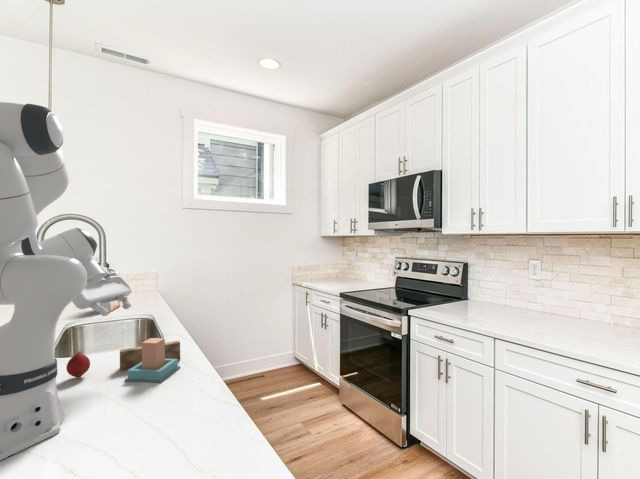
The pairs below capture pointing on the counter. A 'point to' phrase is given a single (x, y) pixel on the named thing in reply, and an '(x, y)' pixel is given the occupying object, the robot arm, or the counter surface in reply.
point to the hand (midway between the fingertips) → (118, 311)
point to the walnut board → (134, 355)
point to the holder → (152, 372)
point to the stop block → (153, 353)
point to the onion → (78, 365)
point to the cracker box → (112, 303)
